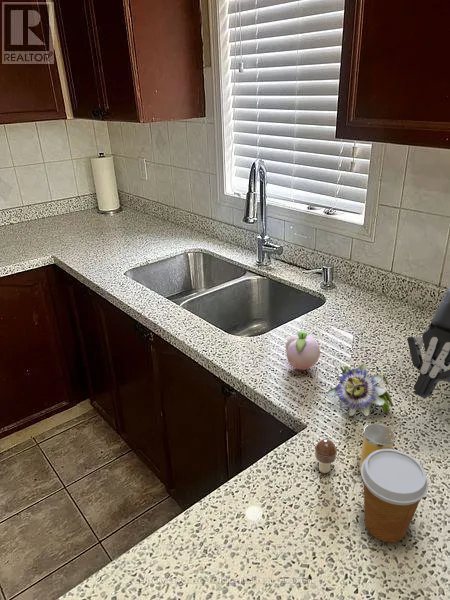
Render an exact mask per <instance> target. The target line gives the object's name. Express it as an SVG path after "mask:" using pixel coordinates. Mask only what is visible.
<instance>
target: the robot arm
mask: <svg viewBox="0 0 450 600" xmlns="http://www.w3.org/2000/svg"><path fill="white" fill-rule="evenodd" d="M406 340H407V345H408V349H409V354H410V357H411V363H412V366H413V367H414V368H416V369H417V370H418V371H419V375H418V377H417V379H416V381H415V384H414V385H413V390H414V394H415V395H416V396H418V397H420V398H422V399H424V400H425V399H427V398H430V397H432V395H433V393H434V392H435V391H434V390H435V389H436V386H437V385H438V383H439V382H446V383H450V286H448V288H447V289H446V291H445V293H444V295H443V296H442V298H441V300H440V303H439V305H438V307H437V309H436V311H435V314H434V315H433V317H432V319H431V321H430V324H429V327H428V328H427V329H426V330H424V331H423V333H422V335H419V336H415V337H414V336H408V337H407V339H406ZM422 348H424V352H425V354H424V357H423V356H422V355H423V354H422V351H421V349H422Z"/></svg>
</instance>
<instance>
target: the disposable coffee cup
mask: <svg viewBox="0 0 450 600" xmlns="http://www.w3.org/2000/svg"><path fill="white" fill-rule="evenodd" d="M360 475H361V476H360V477H361V479H362V482H363V506H364V507H363V509H364V525H365V527H366V529H367V531H368V532H369V533H370V535H371V536H373V537H374V538H376V539H377V540H379V541H381V542H384V543H390V544H393V543H397V542H400V541H402V540H403V539H404V538H405V536H406V534H407V532H408V529H409V527H410V525H411V522H412V520H413V517H414V516H415V513H416V511H417V508H418V506H419V504H420V502H421V500H422V499H423V498H424V497H425V496H426V495H427V493H428V491H429V481H428V477H427V474H426V471H425V468H424V467H423V466H422V464H421V463H420V462H419V461H418V460H417V459H416V458H415V457H413V456H412V455H410V454H408V453H407V452H404V451H402V450H398V449H381V450H376V451H374V452H372V453H371V454H370V455H369V456H368V457H367V458H366V459H365V460H364V462H363V463H362V466H361V473H360Z"/></svg>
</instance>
